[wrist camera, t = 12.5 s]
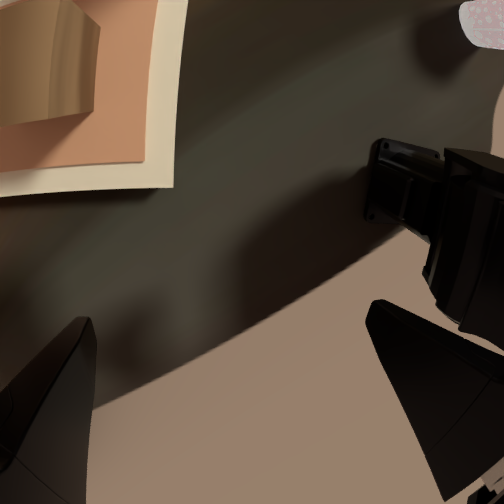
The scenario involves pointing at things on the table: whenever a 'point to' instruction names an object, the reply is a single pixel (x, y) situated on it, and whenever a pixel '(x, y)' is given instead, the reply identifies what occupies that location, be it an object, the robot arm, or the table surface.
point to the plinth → (108, 109)
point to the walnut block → (46, 61)
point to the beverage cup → (483, 22)
